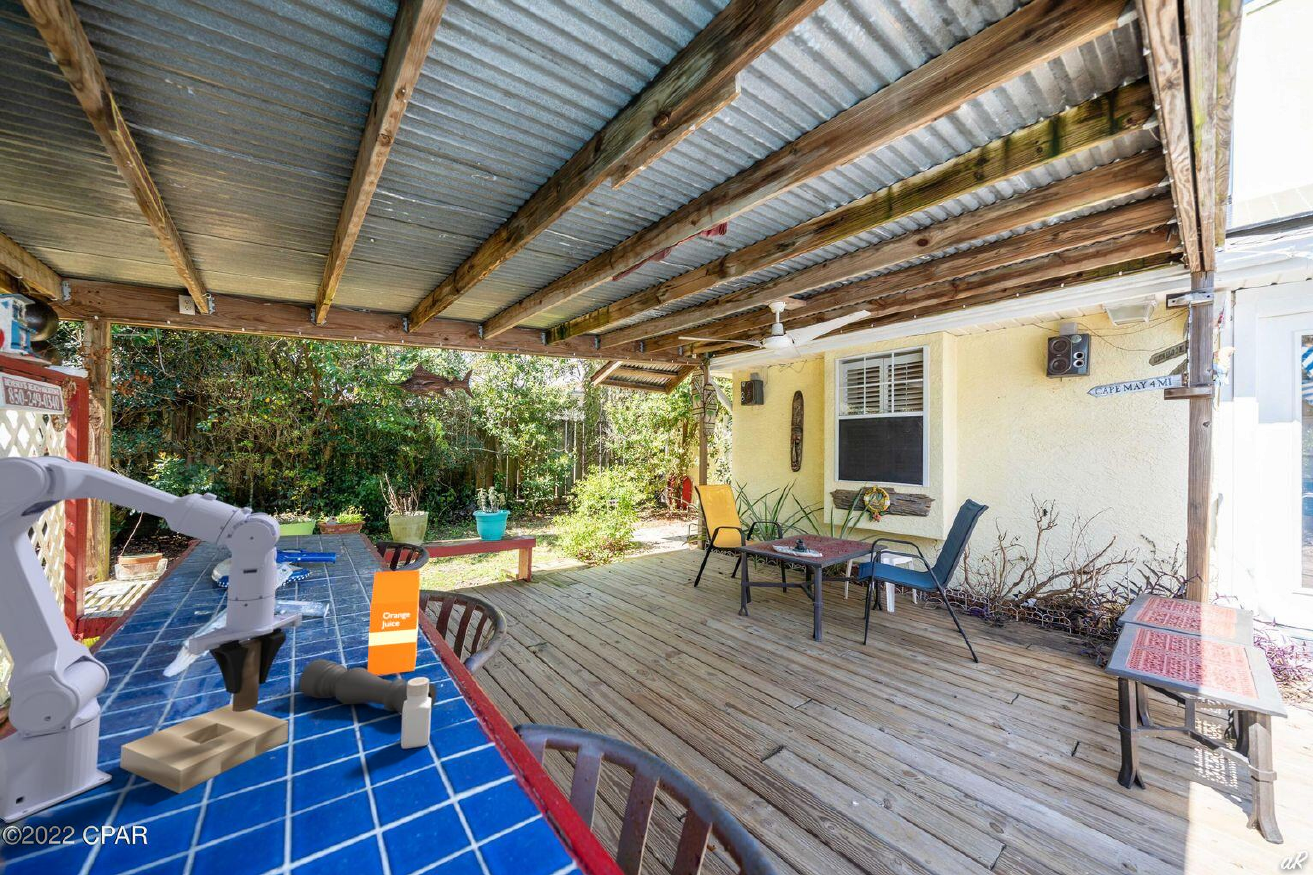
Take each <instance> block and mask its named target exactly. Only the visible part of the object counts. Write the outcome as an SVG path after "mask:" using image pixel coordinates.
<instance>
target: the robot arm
mask: <svg viewBox="0 0 1313 875" xmlns="http://www.w3.org/2000/svg"><path fill="white" fill-rule="evenodd" d="M217 497H218V496H217V495H215V493H214V494H213V493H211V492H207V493H204V494H203V495H202V494H200V493H196V492H195V493H191V494H187V495H185V496H182V497H181V496H177V495H174V494H171V493H169V492H166V491H164V490H161V489H158V488H155V487H153V486H151V485H148V484H145V483H142V482H140V481H137V480H134V479H132V478H129V477H127V476H125V475H122V474H118V473H116V472H113V471H110V470H108V469H105V468H103V467H99V466H96V465H93V464H90V463H85V462H81V461H72V460H70V459H68V458H66V457H63V456H60V455H41V456H36V457H35V456H33V457H32V456H31V457H26V456H25V457H24V456H23V457H22V456H7V457H1V458H0V634H1V635H0V636H1V637H2V640H3V641H4V644H5V647H6V648H7V651H8V652H9V655H10V658H11V660H12V661H13V662H12V663H13V668H12V670H11V674H10V677H9V680H8V682H7V690H8V692H9V695H10V699H11V700H10V705H9V710H8V713H7V714H8V720H9V722H10V724H11V726H12V727H14V728H15V729H16V730H17V731H16V732H14V733H12V734H10V735H8V736H7V737H3V738H2V739H0V818H1V819H3V820H4V821H5V822H4V821H3V822H4V823H6V824H9V823H10V824H11V823H12V822H13V823H14V822H15V821H18V820H20V819H23V818H25V817H28V816H30V815H32V814H35V813H37V812H40V811H41V810H44V809H46V808H49V807H51V806H53V805H56V804H58V803H60V802H62V801H63V802H64V801H65V800H68V799H70V798H72V797H75V796H77V795H79V794H82V793H84V792H86V791H89V790H92V789H93V788H95V787H98V786H100V785H102V784H105V783H107V782H110V781H111V780H112V778H113V776H112V775H111V774H109V773H106V772H104V771H102V770H101V769H98V756H99V755H98V754H99V753H98V752H99V740H100V738H99V737H100V736H99V735H100V723H101V706H100V705H99V702H98V700H97V699H98V696H99V695H100V694H101V693H103V691H105V689H106V687H107V685H108V684H109V680H110V672H109V670H108V668H107V666H106V664H104V663H103V662H101V661H100V660H99V659H98V660H97V659H96V658H95V657H94V655H92V654H91V652H90V651H91V650H89V648H88V646H87V645H85V644H83V643H81V642H79V641H77V640H76V639H74V637H73V635H72V633H71V631H70V628H69V626H68V624H67V621H66V619H65V616H64V615H63V612H62V609H61V608H60V605H59V603H58V601H57V599H56V596H55V593H54V591H53V590H52V587H51V584H50V582H49V580H48V577H47V576H46V573H45V570H44V568H43V567H42V564H41V562H40V559H39V557H38V555H37V552H36V550H35V548H34V546H33V544H32V541H31V539H30V536H29V534H28V531H29V530H30V529H31V528H32V527H33V526H34V525H35V524H36V522H37V521H38V520H39V519H40V518H41V517H42V516H43V515H44V514H45V513H46V512H47V510H49V509H51V508H52V507H54V506H55V505H57V504H59V503H61V502H62V501H65V500H67V501H68V500H80V499H97V500H99V501H100V500H101V501H104V502H108V503H111V504H113V505H117V506H121V507H125V508H129V509H132V510H135V511H138V512H142V513H147V514H149V515H153V516H157V517H160V518H164V520H165V521H166V524H167V525H168V528H169V529H170V531H173V532H176V533H179V534H183V535H185V536H189V537H193V538H195V539H197V540H198V539H199V540H202V541H204V542H208V543H211V544H214V545H217V546H224V545H225V546H226V547H227V549H228V550H229V552H231V560H230V561H231V562H230V566H229V570H228V584H227V586H228V588H227V600H226V601H227V602H226V604H227V605H226V617H225V626H222V627H220V628H218V629H215V630H212V631H209V632H207V633H203V634H201V635H198V636H196V637H192V638H189V639H188V650H187V653H188V654H191V655H193V656H199V655H202V654H205V653H206V651H209V653H210V654H211V655H212V657H213V658H214V660H215V662H216V663H217V665H218V668H219V670H220V672H221V675H222V678H223V681H224V682H223V683H224V686H225V691H226V693H230V694H232V695H233V694H237V693H239V692H240V689H241V684H242V670H243V665H244V661H245V658H246V655H247V652H248V650H249V649H248V648H245V647H241V644H239V642H241V641H245V640H251V639H259V640H261V641H262V642H261V658H260V675H259V685H263V684H266V681H267V679H268V676H269V674H270V673H269V672H270V670H271V668H272V665H273V663H274V660H275V658H276V656H277V654H278V653H279V651H280V649H281V647H283V644H284V643H285V642H286V641H287V633H286V632H284V631H283V632H282V630H286V629H288V628H291V627H293V628H295V627H299V626H302V620H303V619H302V618H303V613H302V612H297V611H291V612H288V613H282V614H276V615H275V602H276V585H277V572H278V571H277V569H278V568H277V567H278V564H277V562H276V559H277V557H278V552H277V546H275V545H276V544H277V542H278V541H279V539H280V537H281V534H282V533H281V532H282V530H281V526H280V523H279V522H278V520H277V519H276V518H274V517H273V516H270V515H269V514H267V513H265V512H254V513H252V511H253V509H252V508H251V507H248V506H247V507H246V506H245V507H243V508H240V507H236V506H234V505H231V504H228V503H226V502H222V501H220V500H216V499H217ZM1 819H0V820H1Z"/></svg>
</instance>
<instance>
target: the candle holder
mask: <svg viewBox="0 0 1313 875" xmlns="http://www.w3.org/2000/svg"><path fill="white" fill-rule="evenodd" d="M407 682H408V681H406V680H405V679H404V678H397V679H395V680H393V681H392V680H388V679H383V678H381V677H379V675H378V676H377V675H374V674H373V673H371V672H369V671H368V669H366V668H364V667H353V668H349V669H347V668H346V667H345V666H344V665H342V664H339V663H338V662H336V661H332V660H326V659H320V658H319V659H316V660H314V661H313V660H312V661H311V662H310V663H309V664H308V665H306V667H305V668H304V669H303V671H302V672H301V674H300V676H299V680H298V689H299V691H300V692H299V693H301V694H302V695H304V696H308V697H311V698H317V699H332V698H334V697H336V698H337V700H338V701H339V702H340V703H342V704H343V705H359V704H369V703H370V704H371V703H372V704H378V705H382V706H383V708H384V709H385V710H386V711H388V712H394V711H397V712H398V713H399V714H400V715H401V716H402V710H403V704H404V701H406V700H407ZM437 692H438V691H437V687H436V685H435V684H434V683H431V682H429V692H428V697H430V698H431V711H432V710H433V708H434V706H435V705H436V701H437V697H438V696H437V695H438V694H437Z"/></svg>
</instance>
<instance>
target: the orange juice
mask: <svg viewBox="0 0 1313 875" xmlns="http://www.w3.org/2000/svg"><path fill="white" fill-rule="evenodd" d="M419 602H420V570H417V569H416V570H398V571H397V570H395V571H394V570H393V571H379V572H378V571H377V572H376V571H374V578H373V586H372V595H371V602H370V613H369V614H370V615H369V617H370V618H369V631H368V632H369V633H368V656H367V657H368V658H367V670H368V671H369V672H371V673H373V674H374V675H376V676H377V675H378V676H379V675H389V674H396V673H405V672H412V671H413V672H414V671H415V670H416V663H417V662H416V661H417V655H418V654H417V652H418V648H417V647H418V630H419V611H420V610H419V609H420V606H419V605H420V603H419Z"/></svg>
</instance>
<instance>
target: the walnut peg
mask: <svg viewBox="0 0 1313 875" xmlns="http://www.w3.org/2000/svg"><path fill="white" fill-rule="evenodd" d="M261 642H262V641H261V640H259V639H251V640H250V639H246V640H243V641H239V644H241V647H245V648H248V649H249V650H248V652H247V655H246V658H245V661H244V665H243V670H242V684H241V689H240V692H239V693H237V694H232V704H233V707H232V710H233V711H235V712H241V711H247V710H250V709H251V710H254V708H256V707H257V706H258V704H259V691H260V690H259V689H260V684H259V675H260V658H261Z"/></svg>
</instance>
